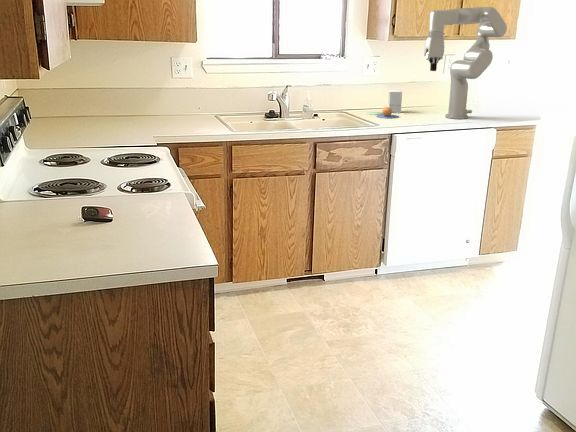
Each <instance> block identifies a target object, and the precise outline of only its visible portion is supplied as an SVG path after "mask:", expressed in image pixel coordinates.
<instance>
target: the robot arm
mask: <svg viewBox="0 0 576 432" xmlns="http://www.w3.org/2000/svg"><path fill="white" fill-rule="evenodd" d="M472 24H473V25H474V24H478V25H477V29H476V41H475V42H474V43H473V45H472V46H470V48H469V49H468V50H466V52H465V53H464V55H463V59H459V60H458V59H457V60H455V61H453V62H452V63H451V65H450V66H449V67H450V69H449V71H450V72H449V73H450V90H449V101H448V112H447V113H446V114H445V115H444V116H445V118H448V119H455V120H464V119H469V115H468V114H472V113H473V110H472V109H467V102H468V92H469V91H468V90H469V84H468V81H467V80H475V79H478V78H479V77H480V76H481V75H482V74H483V73H484V72H485V71H486V69H488V68H489V67H490V65H491V64H492V61H493V57H494V55H493V52H492V51H491V49H490V47H491V46H490V40H489V38H501V37H503V36H504V35H506V33H507V31H508V30H507V28H508V27H507V24H506V22H505V20H504V19H503V17H502V15H501V14H500V12H499V11H498V10H497V9H496V8H495V7H492V6H480V7H479V6H478V7H477V6H475V7H461V8H454V9H453V8H452V9H438V10H431V11H430V14H429V23H428V25H429V26H428V37H427V38H426V40H425V44H424V46H425V47H424V52H423V53H424V54H423V56H424V57H425V61H426V60H427V61H428V62H429V64H430V67H429V68H430V69H429V70H430V72H436V71H437V69H438V67H437V66H438V64H439V62H440V60H441V61H442V60H443V59H444V58H443V57H444V55H445V38H444V36H445V32H444V31H445V30H444V29H445V26H453V25H460V26H461V25H472Z"/></svg>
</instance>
